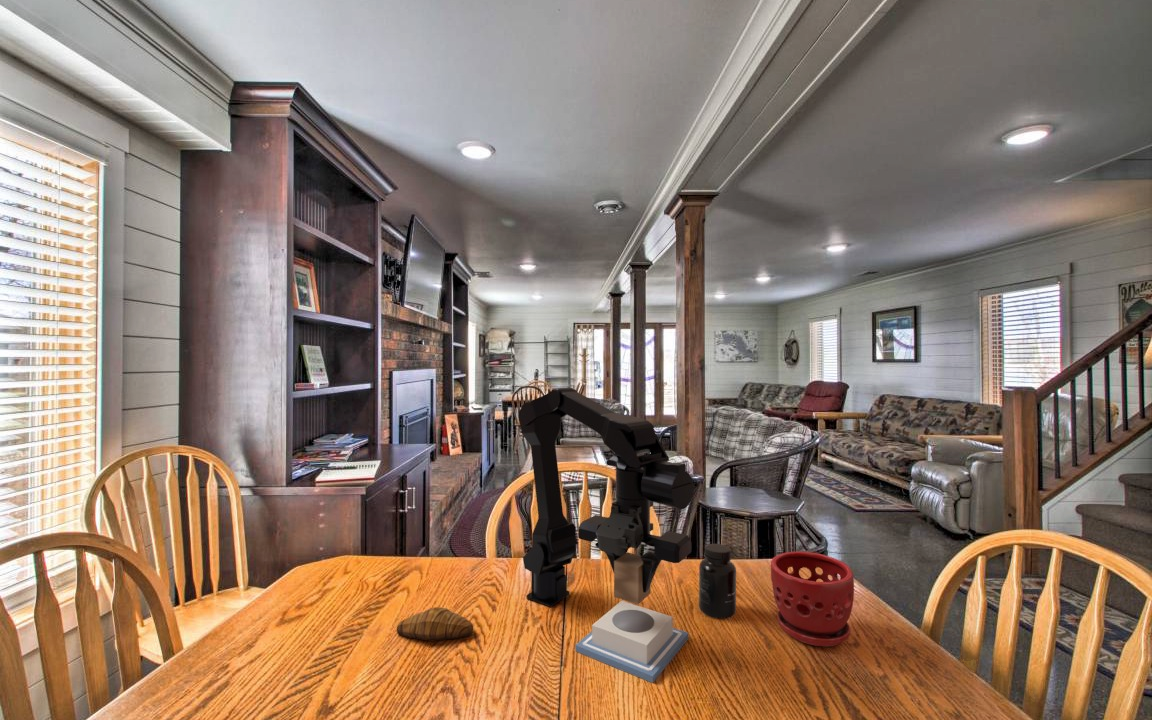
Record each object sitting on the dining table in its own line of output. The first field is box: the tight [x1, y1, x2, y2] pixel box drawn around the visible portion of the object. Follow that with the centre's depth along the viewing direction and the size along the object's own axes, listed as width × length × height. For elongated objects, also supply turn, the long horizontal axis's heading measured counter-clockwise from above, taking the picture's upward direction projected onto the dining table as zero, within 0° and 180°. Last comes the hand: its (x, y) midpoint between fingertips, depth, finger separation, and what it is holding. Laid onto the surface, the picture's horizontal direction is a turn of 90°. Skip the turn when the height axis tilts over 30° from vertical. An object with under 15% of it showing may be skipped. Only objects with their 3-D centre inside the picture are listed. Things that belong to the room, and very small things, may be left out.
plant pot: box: [770, 551, 855, 648], centre depth 87 cm, size 13×13×12 cm
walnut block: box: [613, 551, 652, 605], centre depth 83 cm, size 4×4×6 cm
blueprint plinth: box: [574, 600, 690, 684], centre depth 83 cm, size 14×14×4 cm
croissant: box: [396, 606, 474, 642], centre depth 86 cm, size 14×7×5 cm, turn 87°
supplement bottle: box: [698, 543, 737, 620], centre depth 94 cm, size 7×7×12 cm
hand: (632, 587), depth 83 cm, fingers closed on walnut block, 4 cm apart
